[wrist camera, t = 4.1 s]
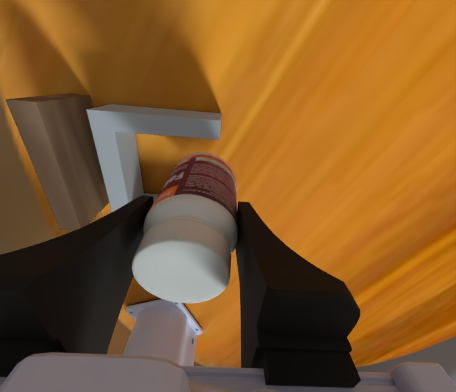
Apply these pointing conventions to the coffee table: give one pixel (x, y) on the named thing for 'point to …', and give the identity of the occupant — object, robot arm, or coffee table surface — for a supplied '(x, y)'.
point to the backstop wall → (63, 155)
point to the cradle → (127, 146)
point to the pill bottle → (190, 232)
